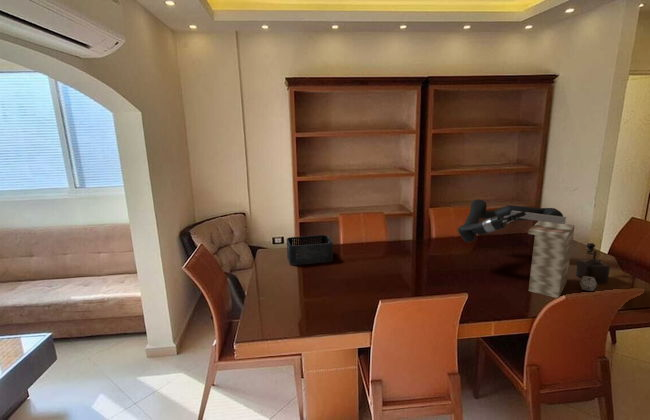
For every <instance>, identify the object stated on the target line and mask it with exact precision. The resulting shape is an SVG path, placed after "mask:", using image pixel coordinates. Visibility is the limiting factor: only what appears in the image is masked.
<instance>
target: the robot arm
mask: <svg viewBox="0 0 650 420" xmlns="http://www.w3.org/2000/svg"><path fill="white" fill-rule="evenodd" d="M487 206H488V205H487V202H486V201H485V200H483V199H474V200H472V202H471V204H470V211H469V214H468V216H467V218H466V220H465V222H464V224H462V225H460V226H459V227H458V229H457V231H458V234H459V235H460V236H461V238H462V239H463V241H464V242H466V243H472V242H474V241H475V239H476V238H477V235H478V236H483V235H485V234H488V233H493V232H496V231H498V230H501V229H504V228H505V227H506V224H509V223H510V222H514V221H529V219H522V218H519V217H522V216H525V213H524V212H529V213H537V214H545V215H553V216H561V217H564V214H563V213H562V212H561V211H560V210H558V209H557V208H554V207H532V206H531V207H530V206H523V205H512V204H511V205H505V206H503V207H500V208H497V209H494V210H487V208H488V207H487ZM512 210H513V211H521V212H520V213H518V214H514V215H511V211H512ZM480 219H485V220H482V221H479V220H480Z"/></svg>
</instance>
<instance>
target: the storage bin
mask: <svg viewBox="0 0 650 420" xmlns="http://www.w3.org/2000/svg"><path fill="white" fill-rule="evenodd" d="M333 243H334V242H333V240H332V239H331V237H329V235H325V234H319V235H305V236H291V237H290V236H289V237H287V238H286V254H287V255H286V257H287V260H288V263H289V265H291V266H302V265H311V264H312V265H313V264H320V263H321V264H322V263H330V262H333V261H334V257H333V256H334V255H333V253H334V251H333V250H334V249H333ZM307 253H308V254H307ZM309 253H310V254H309ZM296 254H297V255H296ZM298 254H299V255H298Z"/></svg>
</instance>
